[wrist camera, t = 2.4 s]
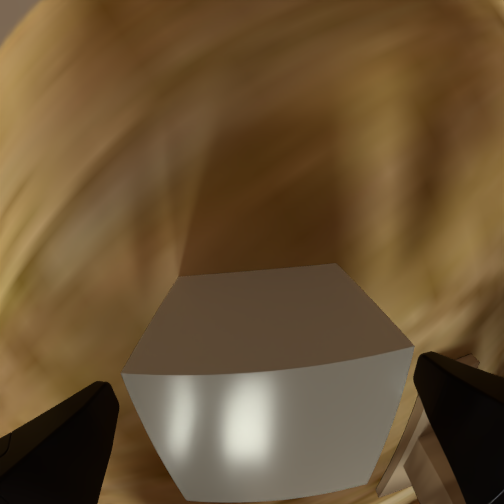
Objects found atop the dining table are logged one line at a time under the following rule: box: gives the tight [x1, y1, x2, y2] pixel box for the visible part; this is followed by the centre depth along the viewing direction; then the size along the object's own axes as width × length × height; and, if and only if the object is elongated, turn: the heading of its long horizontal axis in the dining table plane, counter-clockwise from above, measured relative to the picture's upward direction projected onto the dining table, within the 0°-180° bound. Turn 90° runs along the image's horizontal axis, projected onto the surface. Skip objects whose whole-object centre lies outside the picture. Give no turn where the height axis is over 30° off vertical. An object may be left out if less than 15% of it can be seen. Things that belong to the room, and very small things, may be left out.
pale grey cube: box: [121, 263, 415, 503], centre depth 7 cm, size 5×5×5 cm
